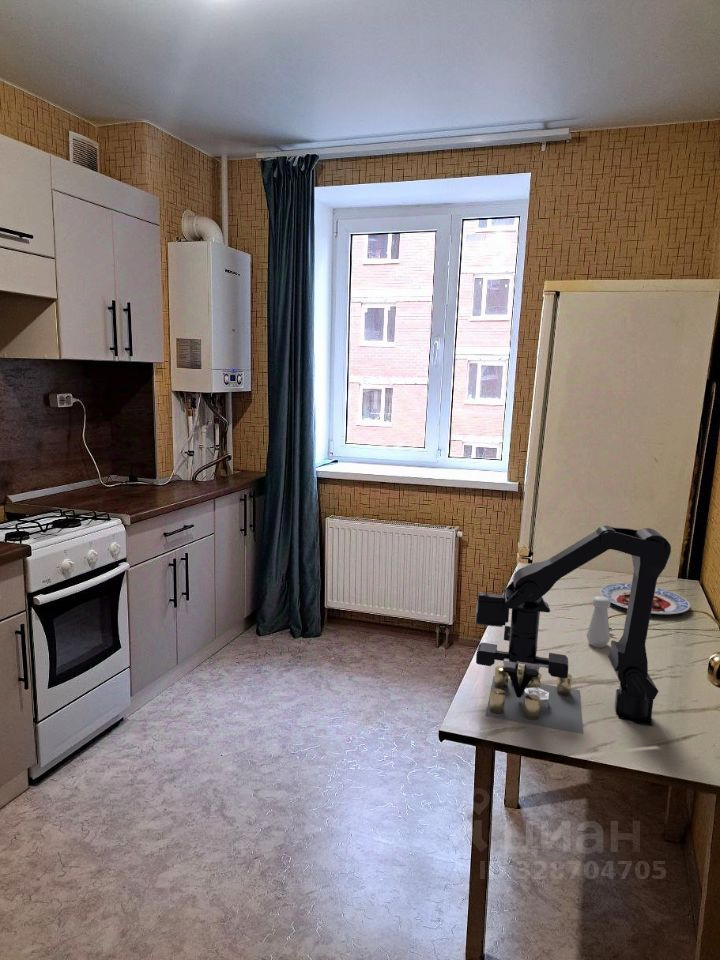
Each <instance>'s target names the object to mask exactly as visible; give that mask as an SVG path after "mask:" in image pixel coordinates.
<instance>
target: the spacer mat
mask: <svg viewBox="0 0 720 960" xmlns="http://www.w3.org/2000/svg"><path fill="white" fill-rule="evenodd" d="M494 681H495V675H493V677H492V681H491V687H490V692H489V697H488V701H487V706H486V711H485V716H486V717H489V718H495V719H500V720H505V721H512V722H517V723H523V724H527V725H534V726H539V727H543V728H544V727H545V728H551V729H553V730H554V729H555V730H560V731H565V732H570V733H571V732H572V733H577V734H582V735H583V734H584V724H583V712H582V700H581V690H580V689H574V688H571V695H570V696H561V695H559V694H558V693H557V685H551V684H544V683H541V687H540V689H542V690H544V691H547V692H549V699H548V710H540V711H539V719H538V720H529V719H527V718H525V717H524V708H525V706H524V705H523V701H524V692H523V694H522V696H521V698H518V697H517V696H516V693H515V690H514V686H512V685H511V679H510V677H508V687H507V688H506V689H501V690H503V691H504V692H505V707H504V713H502V714H495V713H492V712H491V711H490V695H491V690H492V689H500V688H497V687H495V686H494Z"/></svg>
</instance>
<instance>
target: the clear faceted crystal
mask: <svg viewBox="0 0 720 960" xmlns="http://www.w3.org/2000/svg"><path fill="white" fill-rule="evenodd" d="M526 695H536V696H538V697H539V698H540V710H548V699H549V692H547V691H544V690H542V689H540V688H538V687H534V688H525V690H524V701H523V705H524V706H525V697H526Z"/></svg>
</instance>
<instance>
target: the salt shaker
mask: <svg viewBox="0 0 720 960" xmlns="http://www.w3.org/2000/svg"><path fill="white" fill-rule="evenodd" d="M592 606H594V609H593V612H592V616H591V618H590V622H589V623H588V628H587V631H586V637H587V641H588V644H589V645H590V646H592V647H594V648H600V649H603V648H605V647H606V646H607V645H608V643H609V642H610V639H611V633H610V623H609V615H608V614H609V612H608V611H609V610H608V609H609V608H610V607H611V602H610V600H609V599H608V598H606V597H602V595H599V596H598V595H597V596H594V597H593V598H592Z"/></svg>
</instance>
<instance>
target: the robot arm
mask: <svg viewBox="0 0 720 960" xmlns="http://www.w3.org/2000/svg"><path fill="white" fill-rule="evenodd" d="M610 550H613V551H617V552H619V553H624V554H627V555H630V556H631V559H632V566H633V575H632V581H631V584H632V586H631V592H630V597H629V603H628V609H627V608H626V616H625V622H624V627H623V633H622V636H621V638H620V639H619V640H618V641H616V640H614V639H613V640H611V643H610V652H609V654H608V655H607V657H608V660H609V661H610V663H611V666H612V668H613V670H614V672H615V675H616V677H617V679H618V680H619V688H617V689H615V697H614V698H615V699H614V711H615V713H616V714H617V716H618V717H617V718H618V719H619V720H623V721H627V722H632V723H634V724H637V725H638V724H640V725H645V726H653V719H652V715H653V707H654V700H655V699H656V698H657V695H658V693H659V690H658V688H657V686H656V684H655V683H654V681H653V679H652V678H651V676H650V674H649V672H648V671H649V668H648V667H649V666H648V665H649V664H648V663H649V662H648V656H647V648H646V643H647V636H648V630H649V625H650V619H651V616H652V615H651V610H652V604H653V599H654V593H655V588H657V582H658V579H659V578H660V576H661V574H662V573H663V571H664V570H665V569H666V567H667V564H668V561H669V559H670V556H671V553H672V546H671V543H670V542H669V541H668V539H667V538H665V537H664V536H663V535H661V534H660V533H659V532H658V531H656V529H653V528H649V527H647V528H645V527H644V528H641V529H639V530H638V529H634V528H627V527H626V528H625V527H615V526H614V527H613V526H609V525H601V526H600V527H598V528H597V529H596V530H595V531H593V532H592V533H590V534H588V535H586V536H585V537H583V538H582V539H580V540H578V541H576V542H575V543H573V544H572V545H570V546H568V547H567V548H564V549H563V550H562V551H560V552H558V553H557V554H555V555H553V556H552V557H550V558H549V559H546V560H543V561H538V562H534V563H531V564H529V565H526V566H523V567H521V568H519V569H517V571H515V573H514V574H513V578H512V581H511V583H510V584H509V585H507V587H506V588H505V589H503V591H502V594H495V593H487V592H483V591H481V592H479V591H478V595H477V602H476V603H475V607H476V608H475V625H476V626H487V627H499V628H503V627H504V631H503V641H508V642H509V643H508V651H502V650H498V644H496V643H487V642H480V643H479V644H478V646H477V650H476V656H475V657H476V658H475V663H476V665H480V666H487V667H492V666H493V665H495V662H496V661H503V665H502V666H503V671H504V672H507V673H508V675H509V677H508V678H509V679H511V681H512V683H513V686H514V690H515V693H516V696H517V697H518V698H521V696H522V694H523V692H524V690H525V688H526V686H527V685H528V683H529V682H530V681H531V679H532V678H533V677H538V675H539V673H540V668H546V669H548V670H547V672H548V673H549V675H550V676H551V677H553V678H558V677H559V678H568V674H569V658H568V657H567V655H566V654H562V653H561V654H559V653H553V652H548V657H543V656H542V657H541V656H539V655H537V651H538V639H539V628H540V626H539V625H540V614H541V613H550V612H551V609H550V606H549V603H547V602H546V601H545V600H544V597H543V596H545V595H546V594H547V593H548V592H550V590H551V589H552V588H553V587H554V586H555V584H557V582H558V581H559V580H560V579H562V578H564V577H565V576H567V575H568V574H570V573H571V572H574V571H575V570H577V569H579V568H580V567H582V566H583V565H585V564H586V563H589V562H590V561H591V560H593V559H596V558H598V557H599V556H601V555H602V554H604V553H605V552H607V551H610ZM510 610H511V616H510ZM509 616H510V618H511V619H510V626H509V625H506V623H509ZM495 660H496V661H495ZM519 665H523V666H524V671H523V675H522V679H521V684H520V687H519Z"/></svg>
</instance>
